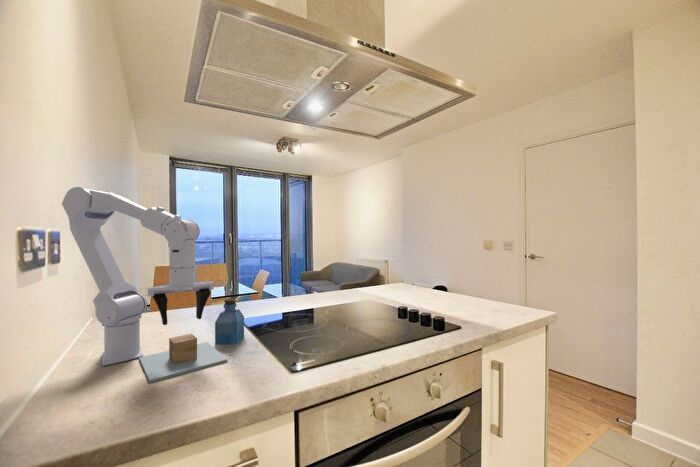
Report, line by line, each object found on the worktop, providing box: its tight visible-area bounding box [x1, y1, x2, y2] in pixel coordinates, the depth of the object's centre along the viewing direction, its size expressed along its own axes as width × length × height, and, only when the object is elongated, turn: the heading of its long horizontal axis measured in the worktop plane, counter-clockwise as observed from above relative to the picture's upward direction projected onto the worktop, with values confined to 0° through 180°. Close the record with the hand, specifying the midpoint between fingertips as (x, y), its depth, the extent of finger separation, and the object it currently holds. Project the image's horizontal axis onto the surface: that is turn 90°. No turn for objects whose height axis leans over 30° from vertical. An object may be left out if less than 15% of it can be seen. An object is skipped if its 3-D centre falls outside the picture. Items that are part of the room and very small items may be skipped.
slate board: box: [138, 341, 228, 384], centre depth 74 cm, size 16×16×1 cm
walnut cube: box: [168, 333, 198, 365], centre depth 74 cm, size 5×5×5 cm
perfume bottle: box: [214, 298, 245, 345], centre depth 89 cm, size 6×6×12 cm
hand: (182, 321), depth 76 cm, fingers open, 7 cm apart
